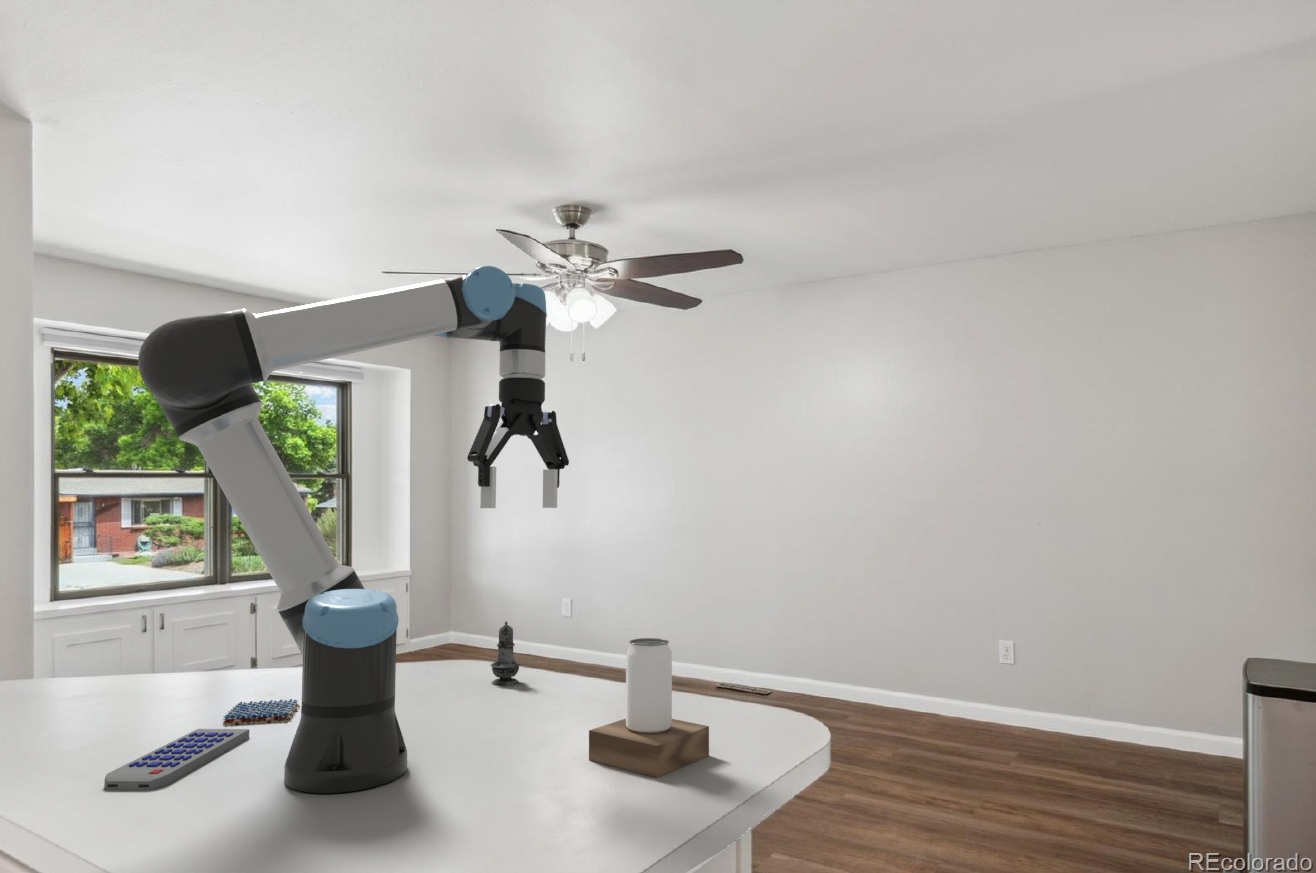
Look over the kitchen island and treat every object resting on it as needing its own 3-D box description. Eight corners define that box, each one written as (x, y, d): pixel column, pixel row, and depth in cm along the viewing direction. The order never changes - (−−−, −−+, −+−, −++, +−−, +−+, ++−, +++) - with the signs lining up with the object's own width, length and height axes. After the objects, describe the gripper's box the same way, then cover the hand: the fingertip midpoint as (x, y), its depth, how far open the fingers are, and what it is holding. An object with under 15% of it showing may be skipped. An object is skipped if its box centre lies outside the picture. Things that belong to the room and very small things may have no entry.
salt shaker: (523, 679, 167) (524, 619, 167) (515, 686, 161) (516, 623, 162) (495, 679, 167) (496, 618, 168) (486, 685, 161) (487, 623, 162)
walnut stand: (657, 777, 108) (657, 746, 108) (588, 759, 115) (589, 730, 116) (709, 755, 118) (708, 726, 118) (642, 740, 125) (642, 712, 125)
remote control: (249, 742, 126) (250, 727, 126) (158, 793, 103) (159, 775, 104) (197, 741, 126) (198, 726, 126) (95, 792, 104) (96, 774, 104)
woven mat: (219, 729, 132) (219, 716, 132) (235, 713, 142) (236, 701, 143) (289, 725, 135) (290, 712, 135) (301, 709, 145) (301, 697, 145)
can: (617, 730, 115) (617, 642, 116) (639, 719, 121) (640, 636, 122) (658, 737, 112) (658, 646, 113) (679, 725, 118) (679, 639, 119)
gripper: (559, 388, 149) (557, 507, 148) (446, 371, 130) (443, 508, 128) (590, 385, 145) (588, 507, 143) (478, 367, 125) (475, 508, 123)
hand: (520, 508), depth 136 cm, fingers open, 13 cm apart
